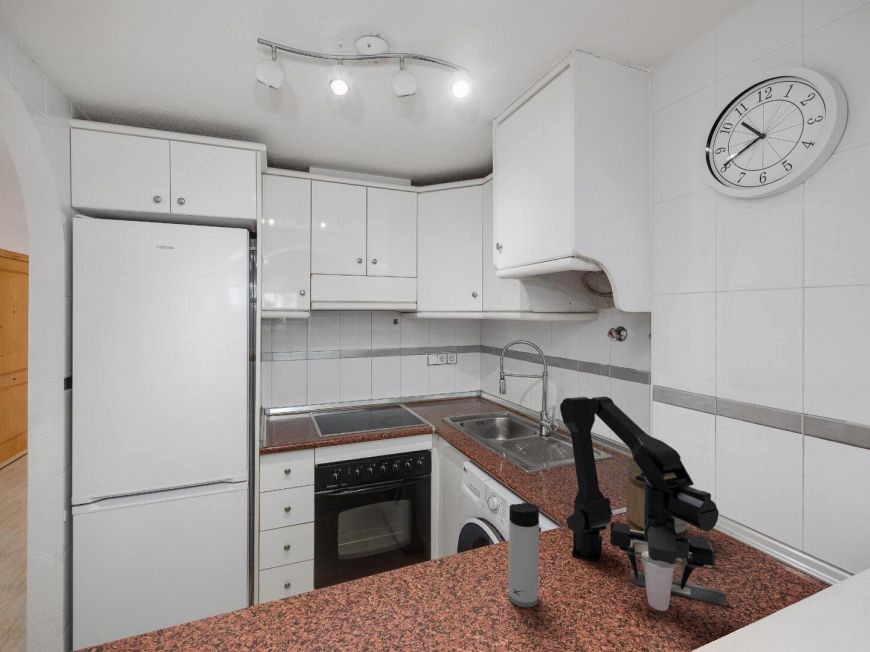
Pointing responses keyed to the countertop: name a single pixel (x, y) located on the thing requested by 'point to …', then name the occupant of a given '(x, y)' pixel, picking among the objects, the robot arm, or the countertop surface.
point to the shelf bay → (689, 588)
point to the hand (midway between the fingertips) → (658, 582)
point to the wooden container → (637, 503)
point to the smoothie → (658, 581)
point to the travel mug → (523, 554)
